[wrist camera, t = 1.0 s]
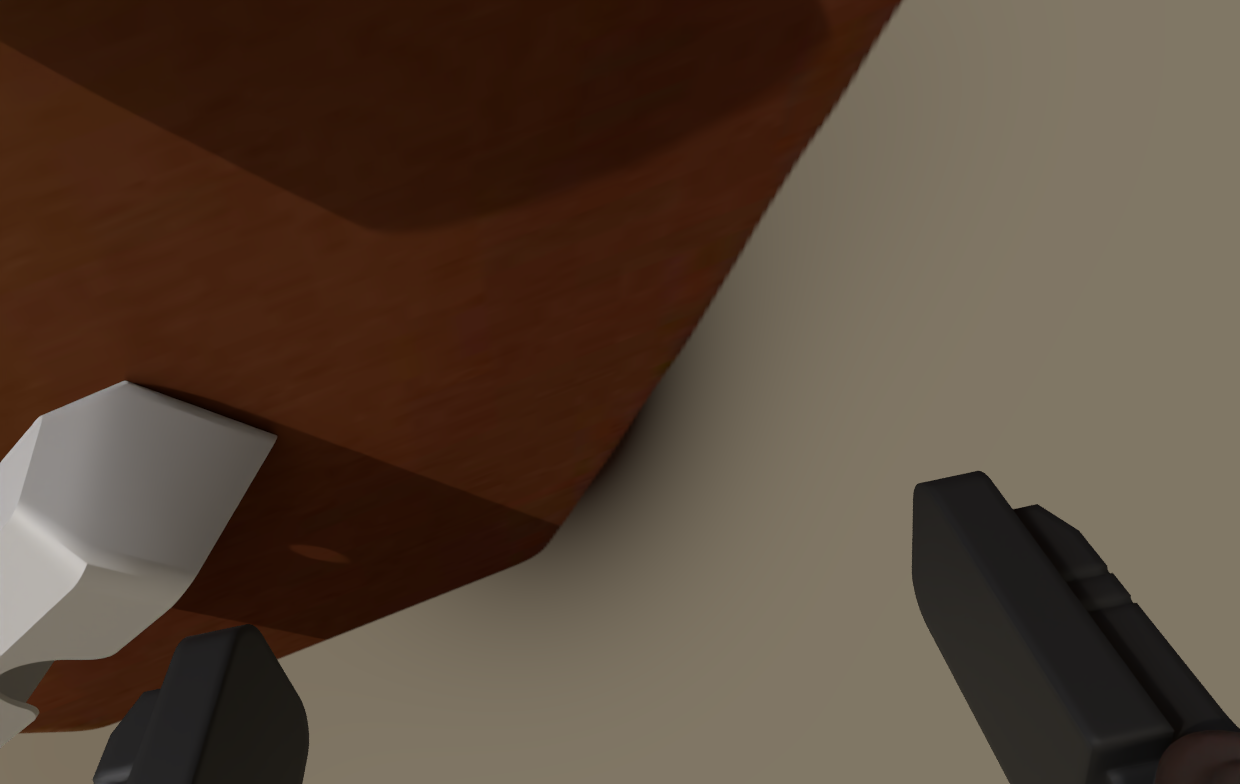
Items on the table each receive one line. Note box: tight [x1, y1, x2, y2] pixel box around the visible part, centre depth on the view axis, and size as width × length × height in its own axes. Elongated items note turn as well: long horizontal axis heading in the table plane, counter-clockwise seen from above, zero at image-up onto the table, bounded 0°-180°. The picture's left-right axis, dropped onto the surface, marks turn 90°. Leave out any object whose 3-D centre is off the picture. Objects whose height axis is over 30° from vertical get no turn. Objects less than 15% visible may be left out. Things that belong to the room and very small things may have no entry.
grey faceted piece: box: [0, 381, 277, 748], centre depth 52 cm, size 25×16×12 cm, turn 133°
